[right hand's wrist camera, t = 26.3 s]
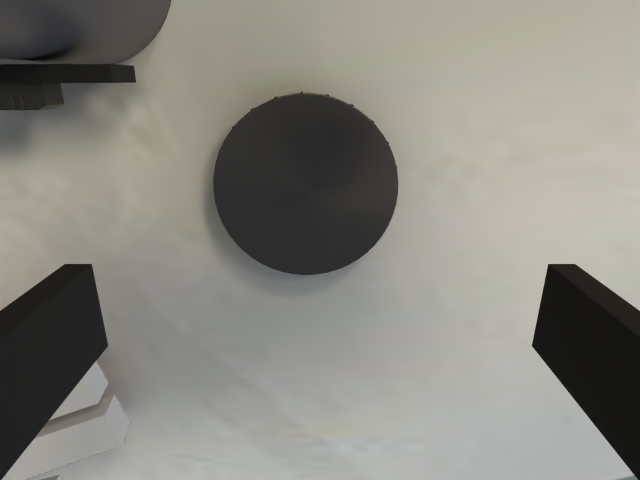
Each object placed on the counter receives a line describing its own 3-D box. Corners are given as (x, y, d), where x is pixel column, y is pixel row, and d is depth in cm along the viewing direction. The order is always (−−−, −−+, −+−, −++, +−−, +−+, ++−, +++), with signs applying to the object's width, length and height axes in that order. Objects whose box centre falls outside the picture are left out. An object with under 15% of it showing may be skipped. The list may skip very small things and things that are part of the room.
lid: (401, 94, 27) (408, 95, 25) (386, 266, 31) (391, 277, 29) (214, 88, 26) (207, 89, 25) (223, 263, 30) (217, 274, 29)
